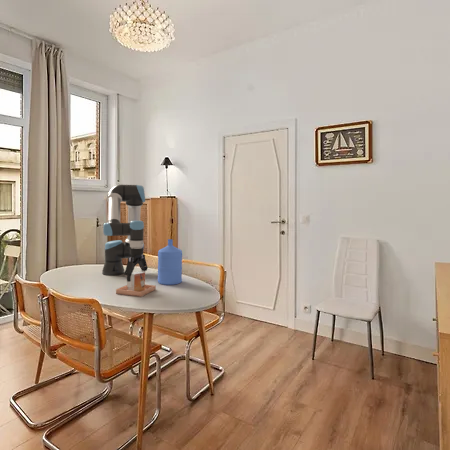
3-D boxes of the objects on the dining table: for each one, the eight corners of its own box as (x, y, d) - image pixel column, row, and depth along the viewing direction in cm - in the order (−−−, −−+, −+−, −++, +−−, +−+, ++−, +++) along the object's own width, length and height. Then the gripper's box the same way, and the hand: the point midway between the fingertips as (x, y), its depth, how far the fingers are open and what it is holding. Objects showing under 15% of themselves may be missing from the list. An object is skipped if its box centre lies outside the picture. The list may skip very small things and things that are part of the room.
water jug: (177, 285, 205) (177, 241, 203) (153, 284, 208) (154, 240, 206) (185, 280, 220) (185, 238, 218) (163, 278, 223) (163, 237, 222)
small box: (134, 293, 185) (134, 274, 184) (127, 291, 188) (127, 273, 187) (145, 290, 191) (145, 272, 190) (138, 288, 194) (138, 270, 194)
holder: (132, 287, 200) (132, 282, 199) (155, 289, 195) (155, 285, 195) (116, 293, 184) (116, 289, 184) (141, 296, 180) (141, 292, 179)
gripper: (129, 250, 175) (129, 290, 176) (153, 245, 199) (153, 280, 200) (117, 250, 177) (117, 288, 179) (142, 244, 201) (142, 278, 202)
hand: (136, 284), depth 189 cm, fingers open, 13 cm apart
